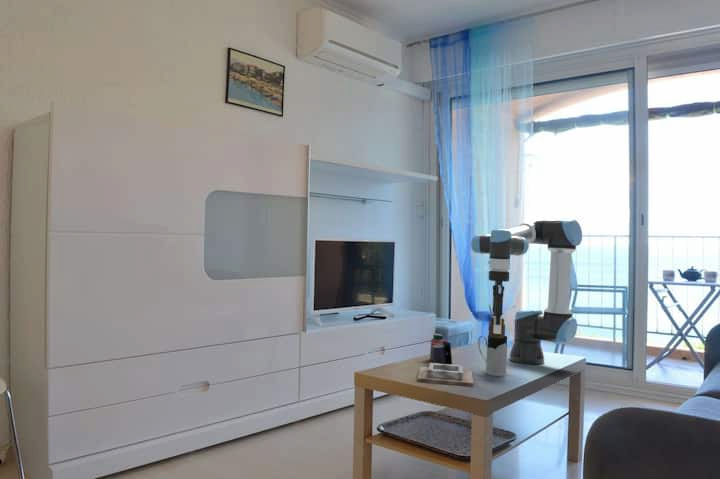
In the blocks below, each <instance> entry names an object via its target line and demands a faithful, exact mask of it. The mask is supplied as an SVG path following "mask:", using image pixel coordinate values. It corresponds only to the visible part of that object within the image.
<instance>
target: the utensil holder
mask: <svg viewBox="0 0 720 479" xmlns="http://www.w3.org/2000/svg"><path fill="white" fill-rule="evenodd" d="M488 308H489V314H490V319H489V321H490V322H489V323H488V335H489V337H492V338H504V337H505V336H506V335H505V334H506V325H505V318H504V316H502V323H501V334H495V333H493V329H494V318H493V310H492V307H491V305H490V304H488ZM506 311H507V310H502V313H507V312H506Z"/></svg>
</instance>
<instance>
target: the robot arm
mask: <svg viewBox="0 0 720 479" xmlns="http://www.w3.org/2000/svg"><path fill="white" fill-rule="evenodd" d="M582 242H583V231H582V227H581V225H580V223H579V222H578V220H576V219H574V218H566V217H565V218H562V217H561V218H539V219H534V220H531V221H527V222H526V221H525V222H523V223H521V224H520V225H518V226H516V227H511V228H509V229H502V228H500V229H498V228H497V229H495V228H494V229H492V230H491V231H490V233H489V234H478V235H477V234H476V235H474V236H473V237H472V239H471V242H470V246H471V250H472V252H474V253H476V254H480V255H482V254H484V255H487V254H488V255H489V260H488V261H487V264H489V265H488V268H489V271H488V280H489V281H492V282H494V285H492V296H493V297H492V308H491V311H492V317H493V318H494V329H493V333H495V334H501V323H502V317H503V315H504V312H503V311H504V308H503V307H504V306H503V305H504V291H505V285H503V282H505V283H506V282H509V281H510V272H509V270H511V256H517V257H519V256H524V255H525V254H526V253H527V252H528V250H529V247H530V245H531V244H534V245H535V244H537V245H546V246H547V250H548V251H549V252H550V263H549V265H550V266H549V281H548V283H549V284H548V295H547V296H548V298H547V307H546V308H545V309H544V310H542V309H523V310H518V311H515V316H514V333H513V334H514V336H513V343H512V345H511V346H512V347H511V349H510V352H509V358H508V360H510V361H512V362H515V363H519V364H526V365H541V364H544V363H545V356H544V352H543V349H542V341H544V342H545V341H546V342H551V343H556V344H564V345H568V344H570V343H571V342H573V340H574V339H575V336H576V334H577V331H578V322H577V319H576V318H575V317H573V312H572V311H571V310H570V294H571V293H570V292H571V279H572V278H571V273H572V256H573V253H575V251H576V250H577V247H578V246H580V245H581V244H582Z"/></svg>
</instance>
